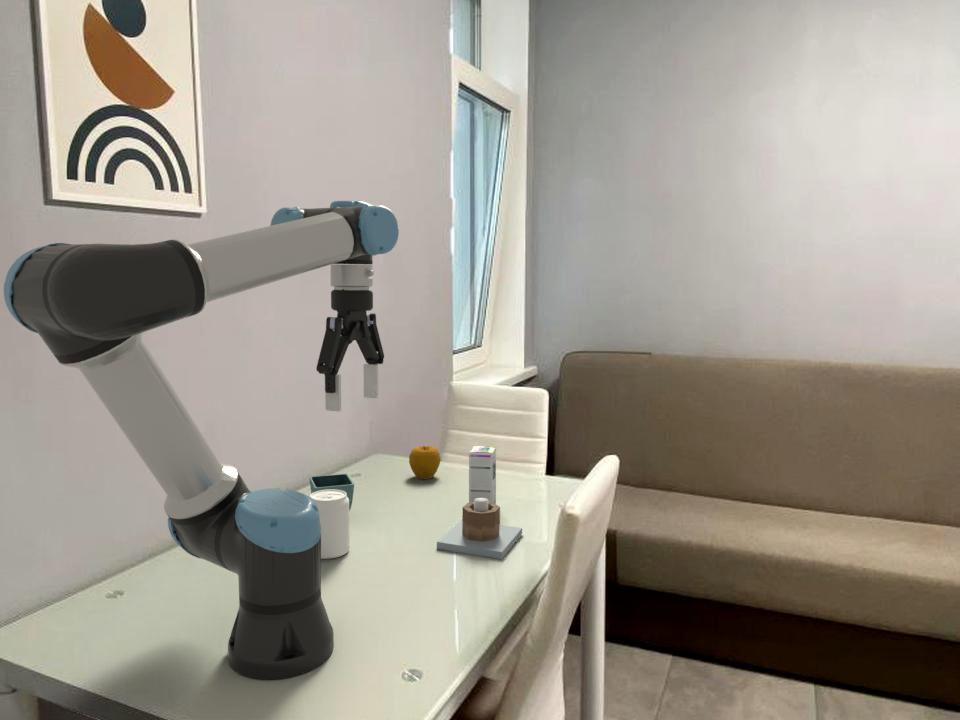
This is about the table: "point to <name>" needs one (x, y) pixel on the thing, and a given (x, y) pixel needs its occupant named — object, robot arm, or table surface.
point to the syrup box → (482, 473)
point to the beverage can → (333, 522)
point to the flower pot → (333, 484)
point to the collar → (481, 522)
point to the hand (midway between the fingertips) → (353, 404)
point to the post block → (486, 548)
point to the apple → (424, 461)
